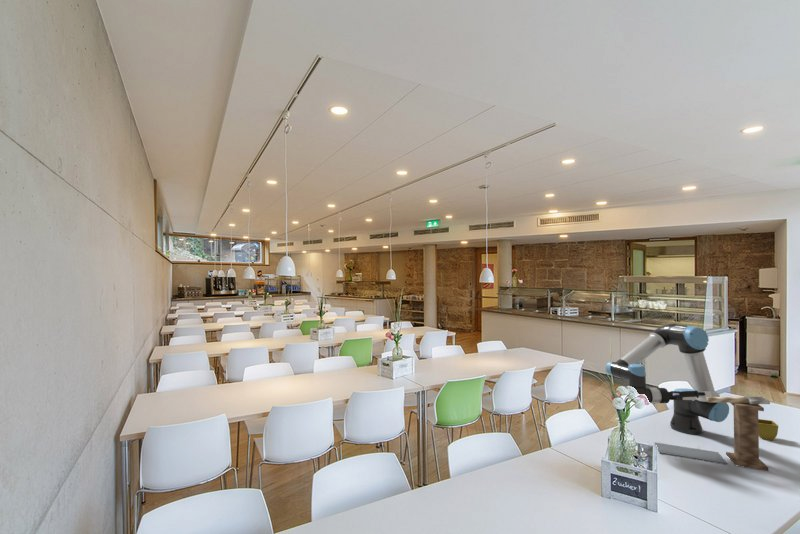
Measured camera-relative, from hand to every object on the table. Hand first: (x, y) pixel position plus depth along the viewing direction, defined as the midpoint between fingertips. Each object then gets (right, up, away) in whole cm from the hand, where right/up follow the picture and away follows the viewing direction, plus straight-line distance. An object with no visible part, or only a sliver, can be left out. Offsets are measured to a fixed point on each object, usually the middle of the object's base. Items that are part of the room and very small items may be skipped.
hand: (703, 395), depth 196 cm
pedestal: (+11, -28, -12) cm, 32 cm away
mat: (-10, -28, -3) cm, 30 cm away
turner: (+8, 0, -10) cm, 13 cm away
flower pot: (+48, -29, +17) cm, 59 cm away
